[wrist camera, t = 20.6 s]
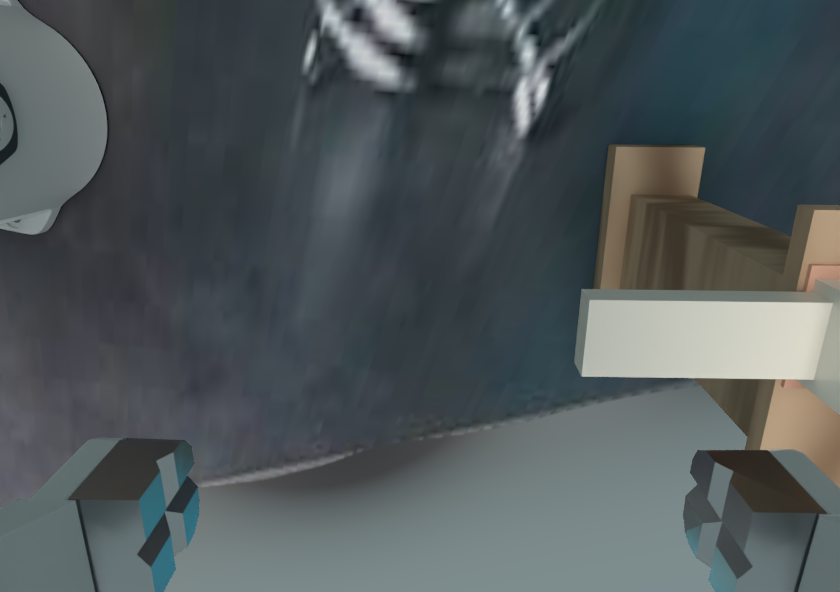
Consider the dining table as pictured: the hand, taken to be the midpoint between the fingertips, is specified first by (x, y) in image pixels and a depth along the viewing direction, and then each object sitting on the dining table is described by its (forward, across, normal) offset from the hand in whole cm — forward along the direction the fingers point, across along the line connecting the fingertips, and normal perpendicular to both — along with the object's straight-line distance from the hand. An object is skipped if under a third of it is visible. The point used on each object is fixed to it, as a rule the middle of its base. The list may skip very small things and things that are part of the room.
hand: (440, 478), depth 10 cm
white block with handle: (+13, +13, -2) cm, 18 cm away
